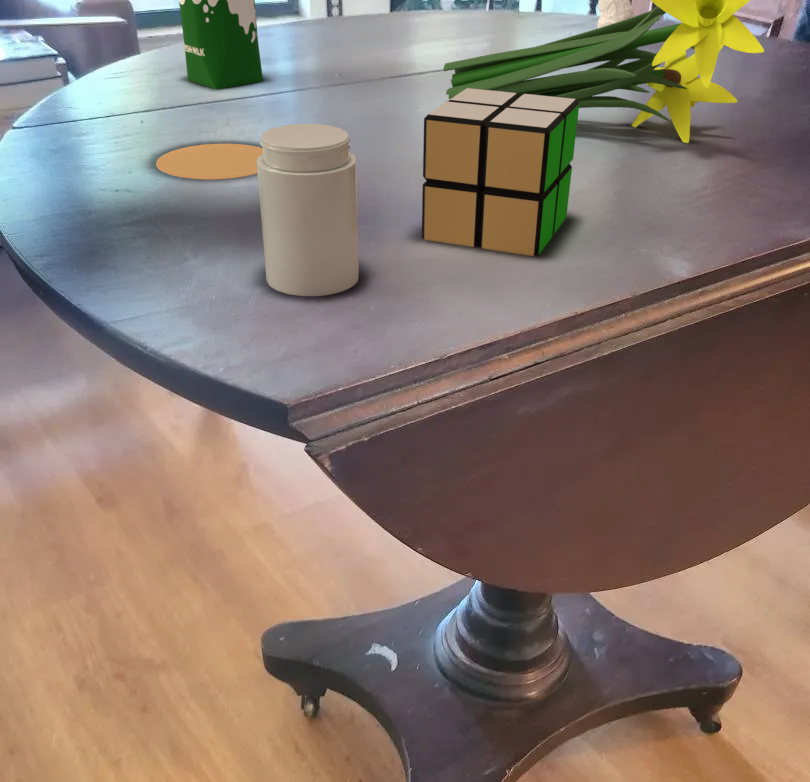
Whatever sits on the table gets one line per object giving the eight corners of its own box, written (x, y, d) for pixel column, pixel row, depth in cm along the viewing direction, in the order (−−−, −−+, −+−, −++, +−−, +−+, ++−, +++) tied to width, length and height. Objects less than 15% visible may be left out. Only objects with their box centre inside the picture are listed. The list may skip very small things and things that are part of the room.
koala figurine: (586, 40, 147) (596, -50, 140) (629, 42, 146) (642, -49, 138) (582, 50, 140) (592, -43, 133) (627, 53, 139) (641, -41, 132)
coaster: (136, 177, 91) (135, 173, 90) (185, 143, 100) (184, 139, 100) (253, 187, 89) (253, 183, 88) (292, 152, 98) (292, 148, 98)
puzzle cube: (459, 205, 85) (464, 86, 79) (566, 220, 82) (581, 98, 76) (420, 243, 78) (422, 114, 72) (536, 261, 75) (549, 129, 69)
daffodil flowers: (483, 106, 117) (785, 44, 102) (467, 200, 112) (782, 149, 97) (434, -12, 103) (776, -104, 88) (413, 89, 98) (772, 9, 83)
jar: (253, 295, 69) (239, 145, 63) (283, 260, 75) (273, 118, 68) (345, 305, 68) (340, 153, 62) (368, 268, 73) (366, 125, 67)
